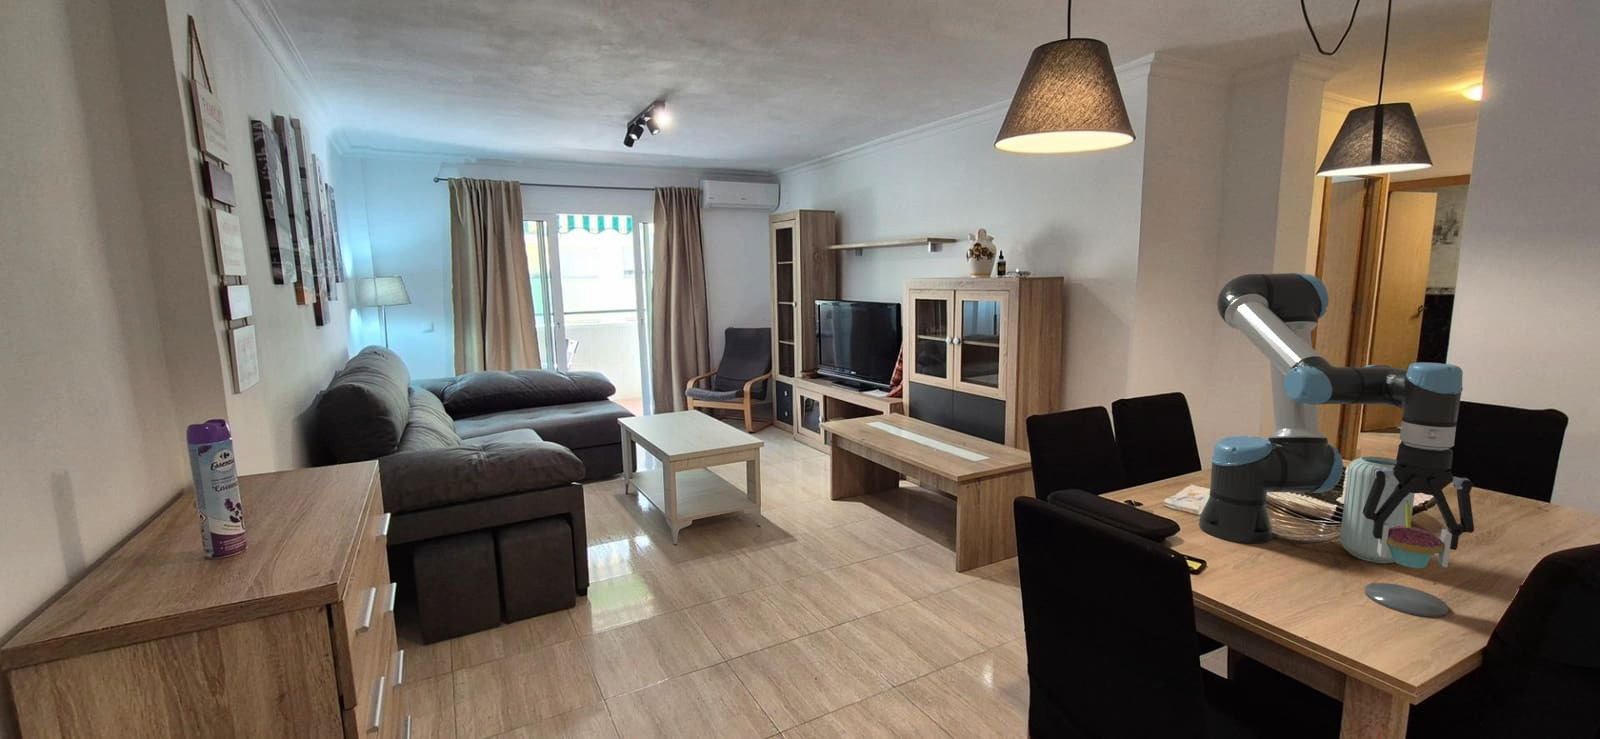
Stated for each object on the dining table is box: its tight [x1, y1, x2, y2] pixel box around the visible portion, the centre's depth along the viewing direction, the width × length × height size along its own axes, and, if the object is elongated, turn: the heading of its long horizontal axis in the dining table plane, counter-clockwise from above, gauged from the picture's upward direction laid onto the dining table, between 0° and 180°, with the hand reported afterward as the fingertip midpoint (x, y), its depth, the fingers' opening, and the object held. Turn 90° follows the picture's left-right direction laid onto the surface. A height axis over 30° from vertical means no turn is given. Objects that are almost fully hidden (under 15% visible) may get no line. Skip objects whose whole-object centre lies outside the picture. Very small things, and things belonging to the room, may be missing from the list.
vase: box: [1339, 455, 1416, 564], centre depth 148 cm, size 12×12×22 cm
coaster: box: [1364, 582, 1449, 618], centre depth 130 cm, size 12×12×1 cm
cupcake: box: [1387, 500, 1444, 569], centre depth 128 cm, size 9×8×12 cm
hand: (1411, 559), depth 128 cm, fingers closed on cupcake, 8 cm apart
